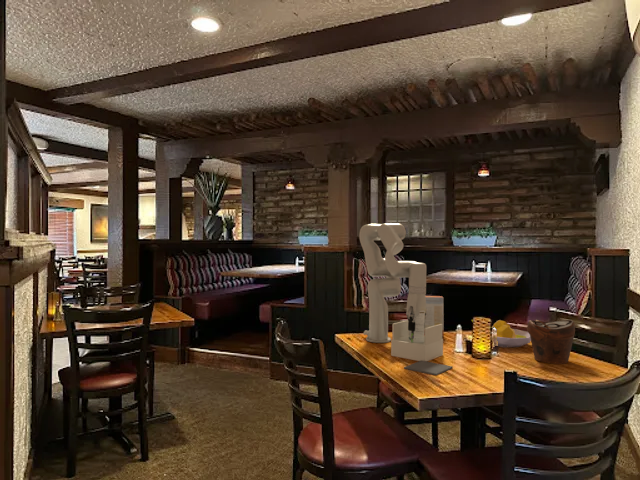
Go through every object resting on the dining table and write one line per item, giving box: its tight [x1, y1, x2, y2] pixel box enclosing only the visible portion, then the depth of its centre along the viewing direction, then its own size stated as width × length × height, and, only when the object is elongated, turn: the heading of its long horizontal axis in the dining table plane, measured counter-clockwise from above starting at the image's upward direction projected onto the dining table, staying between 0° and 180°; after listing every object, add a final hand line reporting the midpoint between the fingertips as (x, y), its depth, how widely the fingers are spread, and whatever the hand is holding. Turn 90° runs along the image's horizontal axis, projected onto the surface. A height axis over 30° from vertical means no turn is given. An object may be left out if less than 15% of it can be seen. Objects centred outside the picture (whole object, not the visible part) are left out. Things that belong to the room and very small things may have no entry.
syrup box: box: [409, 310, 425, 343], centre depth 210 cm, size 6×6×14 cm
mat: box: [403, 361, 454, 376], centre depth 188 cm, size 14×14×1 cm
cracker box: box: [424, 295, 445, 336], centre depth 256 cm, size 14×6×21 cm, turn 84°
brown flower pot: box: [526, 319, 576, 365], centre depth 202 cm, size 18×20×18 cm
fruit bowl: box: [470, 319, 531, 348], centre depth 233 cm, size 28×27×11 cm
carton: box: [390, 319, 444, 362], centre depth 209 cm, size 17×17×14 cm
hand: (416, 329), depth 210 cm, fingers closed on syrup box, 8 cm apart
